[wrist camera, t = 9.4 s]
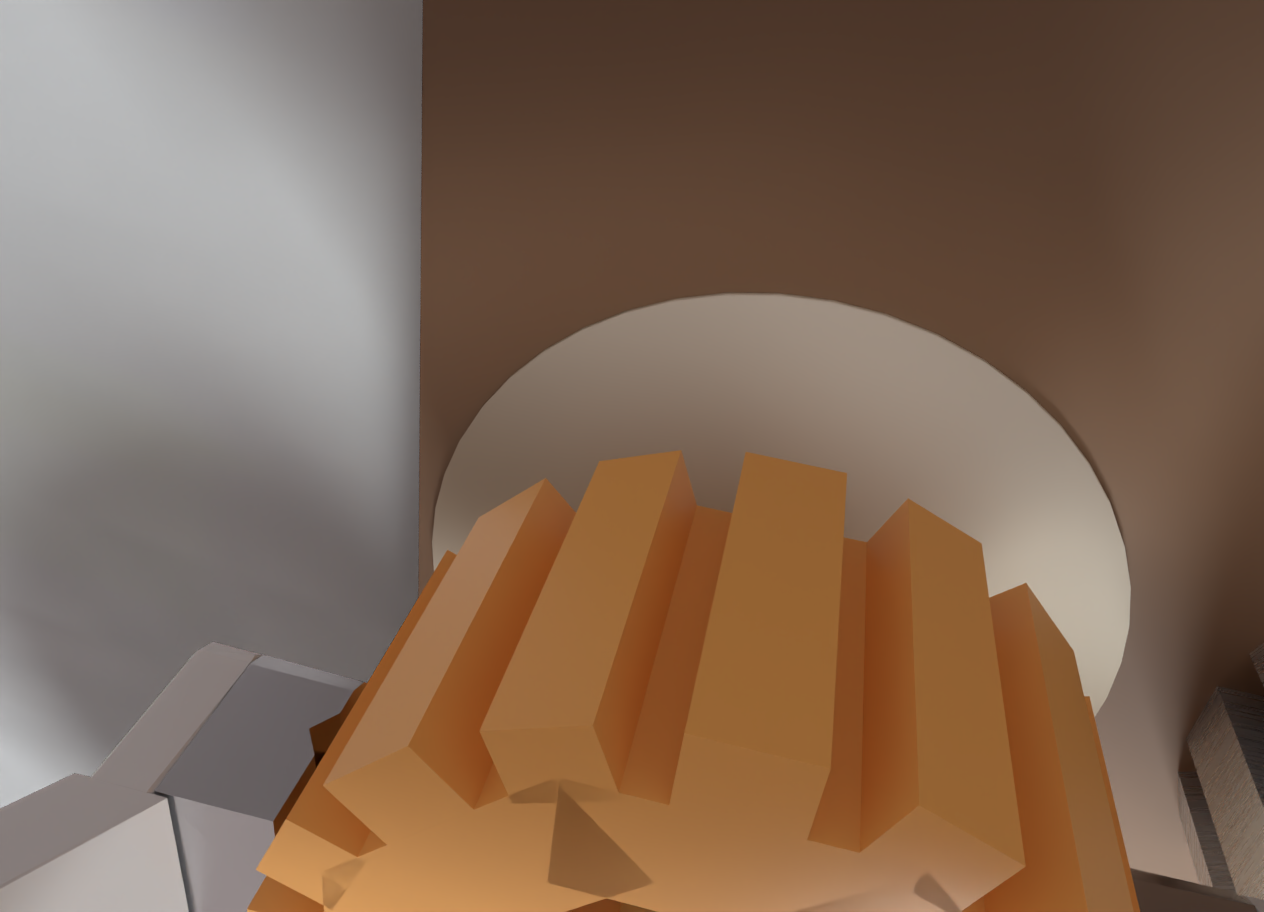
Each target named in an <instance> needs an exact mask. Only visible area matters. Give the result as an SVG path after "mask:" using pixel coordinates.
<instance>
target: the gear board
mask: <svg viewBox="0 0 1264 912" xmlns="http://www.w3.org/2000/svg"><path fill="white" fill-rule="evenodd" d="M679 450H681V451H682V454H683V458H684V461H685V465H686V469H687V472H688V476H689V479H690V483H691V486H692V490H693V493H694V497H695V500H696V504H697V505H698V506H702V507H707V508H712V509H716V510H721V511H725V512H730V513H732V512H733V508H734V503H735V499H736V494H737V489H738V485H739V480H740V476H741V471H742V466H743V462H744V457H745V453H746V452H750V453H754V454H759V455H764V456H769V457H773V458H778V459H783V460H788V461H792V462H797V463H802V464H807V465H811V466H816V467H821V468H826V469H830V470H835V471H840V472H845V473H847V484H846V502H845V520H844V537H845V538H850V539H854V540H859V541H863V542H868V541H869V539H870V538H871V537H872V536H873V535H874V534H875V533H876V532H877V531H878V530H879V529H880V528H881V527H882V526H883V524H884V523H885V522H886V521H887V520H888V519H889V518H890V517H891V516H892V515H893V514H894V513H895V512H896V511H897V510H898V508H899V507H900V506H901V505H902V504H903V503H904V502H905V501H906V500H907V499H908V498H909V499H910V500H912V501H913V502H915V503H917V504H918V505H920V506H922V507H923V508H925V509H926V510H928V511H930V512H931V513H933V514H935V515H936V516H938V517H939V518H941V519H943V520H944V521H946V522H948V523H949V524H951V525H952V526H954V527H956V528H957V529H959V530H961V531H962V532H964V533H966V534H967V535H969V536H970V537H972V538H974V539H975V540H977V541H979V542H980V543H982V549H983V557H984V564H985V571H986V579H987V586H988V593H989V598H990V597H992V596H995V595H997V594H1000V593H1002V592H1004V591H1007V590H1009V589H1012V588H1014V587H1017V586H1019V585H1022V584H1024V583H1027V585H1028V586H1029V587H1030V589H1031V590H1032V592H1033V593H1034V595H1035V596H1036V597H1037V599H1038V600H1039V602H1040V603H1041V605H1042V606H1043V607H1044V609H1045V610H1046V612H1047V613H1048V615H1049V616H1050V618H1051V619H1052V620H1053V622H1054V623H1055V625H1056V626H1057V628H1058V629H1059V630H1060V632H1061V633H1062V635H1063V636H1064V638H1065V639H1066V640H1067V642H1068V643H1069V645H1070V646H1071V648H1072V649H1073V650H1074V654H1075V658H1076V662H1077V667H1078V671H1079V675H1080V680H1081V684H1082V689H1083V693H1084V696H1090V701H1091V705H1092V709H1093V713H1094V718H1095V722H1096V726H1097V730H1098V735H1099V739H1100V743H1101V747H1102V751H1103V756H1104V760H1105V764H1106V768H1107V773H1108V777H1109V781H1110V785H1111V790H1112V794H1113V798H1114V802H1115V807H1116V811H1117V815H1118V819H1119V824H1120V828H1121V832H1122V836H1123V840H1124V845H1125V849H1126V853H1127V857H1128V862H1129V866H1130V868H1133V869H1137V870H1141V871H1146V872H1150V873H1154V874H1159V875H1163V876H1167V877H1172V878H1176V879H1180V880H1184V881H1189V882H1193V883H1197V884H1199V881H1198V877H1197V874H1196V871H1195V867H1194V864H1193V860H1192V857H1191V854H1190V850H1189V847H1188V843H1187V840H1186V837H1185V833H1184V830H1183V826H1182V823H1181V820H1180V816H1179V792H1178V772H1191V771H1196V768H1195V764H1194V761H1193V758H1192V755H1191V752H1190V749H1189V746H1188V743H1187V740H1186V738H1187V736H1188V734H1189V733H1190V731H1191V729H1192V728H1193V726H1194V724H1195V723H1196V721H1197V719H1198V718H1199V716H1200V714H1201V713H1202V711H1203V709H1204V708H1205V706H1206V704H1207V702H1208V701H1209V699H1210V697H1211V696H1212V694H1213V692H1214V691H1215V689H1216V687H1217V686H1219V687H1223V688H1228V689H1232V690H1236V691H1241V692H1245V693H1250V694H1254V695H1259V696H1263V697H1264V686H1263V684H1262V682H1261V679H1260V677H1259V675H1258V672H1257V670H1256V668H1255V666H1254V663H1253V661H1252V659H1251V656H1250V654H1249V653H1251V652H1252V651H1253V650H1255V649H1256V648H1258V647H1259V646H1260V645H1262V644H1263V643H1264V0H423V54H422V187H421V321H420V455H419V588H418V598H419V596H420V594H421V593H422V591H423V589H424V588H425V586H426V584H427V583H428V581H429V579H430V578H431V576H432V574H433V573H434V571H435V569H436V568H437V566H438V564H439V563H440V561H441V559H442V558H443V556H444V554H445V553H446V551H447V550H449V551H451V552H453V553H454V554H456V555H457V554H458V552H459V550H460V549H461V547H462V545H463V544H464V542H465V540H466V538H467V537H468V535H469V533H470V532H471V530H472V528H473V526H474V525H475V523H476V521H477V520H478V518H479V517H480V516H482V515H484V514H485V513H487V512H489V511H491V510H492V509H494V508H496V507H497V506H499V505H501V504H502V503H504V502H506V501H508V500H509V499H511V498H513V497H514V496H516V495H518V494H519V493H521V492H523V491H524V490H526V489H528V488H530V487H531V486H533V485H535V484H536V483H538V482H540V481H541V480H543V479H545V478H546V479H547V480H548V481H549V482H550V483H551V484H552V486H553V487H554V488H555V489H556V490H557V491H558V493H559V494H560V495H561V496H562V497H563V498H564V499H565V501H566V502H567V503H568V504H569V505H570V506H571V508H572V509H573V510H574V511H575V512H577V510H578V508H579V506H580V503H581V501H582V499H583V497H584V494H585V492H586V490H587V488H588V485H589V483H590V481H591V479H592V476H593V474H594V472H595V470H596V467H597V465H598V463H599V461H604V460H612V459H619V458H627V457H634V456H642V455H649V454H656V453H664V452H671V451H679ZM619 912H657V911H653V910H649V909H645V908H641V907H638V906H634V905H630V904H626V903H621V907H620V911H619Z"/></svg>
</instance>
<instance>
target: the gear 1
mask: <svg viewBox="0 0 1264 912" xmlns="http://www.w3.org/2000/svg"><path fill="white" fill-rule="evenodd" d="M846 484H847V473H845V472H840V471H835V470H830V469H826V468H821V467H816V466H811V465H807V464H802V463H797V462H792V461H788V460H783V459H778V458H773V457H769V456H764V455H759V454H754V453H750V452H746V453H745V457H744V462H743V466H742V471H741V476H740V480H739V485H738V489H737V494H736V499H735V503H734V508H733V512H732V513H730V512H725V511H721V510H716V509H712V508H707V507H702V506H698V505H697V504H696V500H695V497H694V493H693V490H692V486H691V483H690V479H689V476H688V472H687V469H686V465H685V461H684V458H683V454H682V451H681V450H679V451H671V452H664V453H656V454H649V455H642V456H634V457H627V458H619V459H612V460H604V461H599V463H598V465H597V467H596V470H595V472H594V474H593V476H592V479H591V481H590V483H589V485H588V488H587V490H586V492H585V494H584V497H583V499H582V501H581V503H580V506H579V508H578V510H577V512H575V511H574V510H573V509H572V508H571V506H570V505H569V504H568V503H567V502H566V501H565V499H564V498H563V497H562V496H561V495H560V494H559V493H558V491H557V490H556V489H555V488H554V487H553V486H552V484H551V483H550V482H549V481H548V480H547V479H546V478H545V479H543V480H541V481H540V482H538V483H536V484H535V485H533V486H531V487H530V488H528V489H526V490H524V491H523V492H521V493H519V494H518V495H516V496H514V497H513V498H511V499H509V500H508V501H506V502H504V503H502V504H501V505H499V506H497V507H496V508H494V509H492V510H491V511H489V512H487V513H485V514H484V515H482V516H480V517H479V518H478V520H477V521H476V523H475V525H474V526H473V528H472V530H471V532H470V533H469V535H468V537H467V538H466V540H465V542H464V544H463V545H462V547H461V549H460V550H459V552H458V554H457V555H456V554H454V553H453V552H451V551H449V550H447V551H446V553H445V554H444V556H443V558H442V559H441V561H440V563H439V564H438V566H437V568H436V569H435V571H434V573H433V574H432V576H431V578H430V579H429V581H428V583H427V584H426V586H425V588H424V589H423V591H422V593H421V594H420V596H419V598H418V599H417V601H416V603H415V604H414V606H413V608H412V609H411V611H410V613H409V614H408V616H407V618H406V619H405V621H404V623H403V625H402V626H401V628H400V630H399V631H398V633H397V635H396V636H395V638H394V640H393V641H392V643H391V645H390V646H389V648H388V650H387V651H386V653H385V655H384V656H383V658H382V660H381V661H380V663H379V665H378V666H377V668H376V670H375V671H374V673H373V675H372V676H371V678H370V680H369V681H368V683H367V685H366V686H365V688H364V690H363V691H362V693H361V695H360V696H359V698H358V700H357V701H356V703H355V705H354V706H353V708H352V710H351V711H350V713H349V715H348V716H347V718H346V720H345V721H344V723H343V725H342V726H341V728H340V730H339V731H338V733H337V735H336V736H335V738H334V740H333V741H332V743H331V745H330V746H329V748H328V750H327V751H326V753H325V755H324V756H323V758H322V760H321V761H320V763H319V765H318V766H317V768H316V770H315V771H314V773H313V775H312V776H311V778H310V780H309V781H308V783H307V785H306V786H305V788H304V790H303V791H302V793H301V795H300V796H299V798H298V800H297V801H296V803H295V805H294V806H293V808H292V810H291V811H290V813H289V815H288V816H287V818H286V820H285V821H284V823H283V825H282V826H281V828H280V830H279V831H278V833H277V835H276V836H275V838H274V840H273V842H272V843H271V845H270V847H269V848H268V850H267V852H266V853H265V855H264V857H263V858H262V860H261V862H260V863H259V865H258V867H257V868H256V870H257V871H259V872H261V873H263V874H265V875H266V877H265V879H264V881H263V882H262V884H261V886H260V887H259V889H258V891H257V893H256V894H255V896H254V898H253V899H252V901H251V903H250V904H249V906H248V908H247V912H619V911H620V907H621V903H626V904H630V905H634V906H638V907H641V908H645V909H649V910H653V911H657V912H1140V908H1139V904H1138V900H1137V896H1136V891H1135V887H1134V883H1133V879H1132V874H1131V870H1130V866H1129V862H1128V857H1127V853H1126V849H1125V845H1124V840H1123V836H1122V832H1121V828H1120V824H1119V819H1118V815H1117V811H1116V807H1115V802H1114V798H1113V794H1112V790H1111V785H1110V781H1109V777H1108V773H1107V768H1106V764H1105V760H1104V756H1103V751H1102V747H1101V743H1100V739H1099V735H1098V730H1097V726H1096V722H1095V718H1094V713H1093V709H1092V705H1091V701H1090V696H1084V693H1083V689H1082V684H1081V680H1080V675H1079V671H1078V667H1077V662H1076V658H1075V654H1074V650H1073V649H1072V648H1071V646H1070V645H1069V643H1068V642H1067V640H1066V639H1065V638H1064V636H1063V635H1062V633H1061V632H1060V630H1059V629H1058V628H1057V626H1056V625H1055V623H1054V622H1053V620H1052V619H1051V618H1050V616H1049V615H1048V613H1047V612H1046V610H1045V609H1044V607H1043V606H1042V605H1041V603H1040V602H1039V600H1038V599H1037V597H1036V596H1035V595H1034V593H1033V592H1032V590H1031V589H1030V587H1029V586H1028V585H1027V583H1024V584H1022V585H1019V586H1017V587H1014V588H1012V589H1009V590H1007V591H1004V592H1002V593H1000V594H997V595H995V596H992V597H990V598H989V593H988V586H987V579H986V571H985V564H984V557H983V549H982V543H980V542H979V541H977V540H975V539H974V538H972V537H970V536H969V535H967V534H966V533H964V532H962V531H961V530H959V529H957V528H956V527H954V526H952V525H951V524H949V523H948V522H946V521H944V520H943V519H941V518H939V517H938V516H936V515H935V514H933V513H931V512H930V511H928V510H926V509H925V508H923V507H922V506H920V505H918V504H917V503H915V502H913V501H912V500H910V499H909V498H908V499H907V500H906V501H905V502H904V503H903V504H902V505H901V506H900V507H899V508H898V510H897V511H896V512H895V513H894V514H893V515H892V516H891V517H890V518H889V519H888V520H887V521H886V522H885V523H884V524H883V526H882V527H881V528H880V529H879V530H878V531H877V532H876V533H875V534H874V535H873V536H872V537H871V538H870V539H869V541H868V542H863V541H859V540H854V539H850V538H845V537H844V520H845V502H846Z"/></svg>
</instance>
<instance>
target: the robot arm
mask: <svg viewBox="0 0 1264 912" xmlns="http://www.w3.org/2000/svg"><path fill="white" fill-rule="evenodd" d="M366 685H367V683H365V682H362V681H359V680H355V679H351V678H348V677H344V676H340V675H337V674H333V673H330V672H326V671H322V670H319V669H315V668H311V667H308V666H304V665H300V664H297V663H293V662H289V661H286V660H282V659H278V658H275V657H271V656H267V655H262V654H258V653H254V652H250V651H247V650H243V649H239V648H235V647H231V646H228V645H224V644H220V643H216V642H211V643H210V644H208V645H206V646H204V647H203V648H201V649H199V650H198V651H196V652H195V653H194V654H193V655H192V656H191V657H190V659H189V660H188V661H187V662H186V663H185V665H184V666H183V667H182V668H181V669H180V671H179V672H178V673H177V674H176V675H175V677H174V678H173V679H172V680H171V681H170V683H169V684H168V685H167V686H166V687H165V689H164V690H163V691H162V692H161V693H160V695H159V696H158V697H157V698H156V699H155V700H154V702H153V703H152V704H151V705H150V706H149V708H148V709H147V710H146V711H145V712H144V714H143V715H142V716H141V717H140V718H139V720H138V721H137V722H136V723H135V724H134V726H133V727H132V728H131V729H130V730H129V732H128V733H127V734H126V735H125V736H124V738H123V739H122V740H121V741H120V742H119V744H118V745H117V746H116V747H115V748H114V749H113V751H112V752H111V753H110V754H109V755H108V757H107V758H106V759H105V760H104V761H103V763H102V764H101V765H100V766H99V767H98V769H97V770H96V771H95V772H94V773H93V775H92V776H91V777H89V776H85V775H81V774H76V773H74V774H72V775H70V776H68V777H65V778H63V779H61V780H59V781H57V782H55V783H53V784H51V785H49V786H47V787H44V788H42V789H40V790H38V791H36V792H34V793H32V794H30V795H28V796H26V797H23V798H21V799H19V800H17V801H15V802H13V803H11V804H9V805H7V806H5V807H2V808H0V912H247V908H248V906H249V904H250V903H251V901H252V899H253V898H254V896H255V894H256V893H257V891H258V889H259V887H260V886H261V884H262V882H263V881H264V879H265V877H266V875H265V874H263V873H261V872H259V871H257V870H256V868H257V867H258V865H259V863H260V862H261V860H262V858H263V857H264V855H265V853H266V852H267V850H268V848H269V847H270V845H271V843H272V842H273V840H274V838H275V836H276V835H277V833H278V831H279V830H280V828H281V826H282V825H283V823H284V821H285V820H286V818H287V816H288V815H289V813H290V811H291V810H292V808H293V806H294V805H295V803H296V801H297V800H298V798H299V796H300V795H301V793H302V791H303V790H304V788H305V786H306V785H307V783H308V781H309V780H310V778H311V776H312V775H313V773H314V771H315V770H316V768H317V766H318V765H319V763H320V761H321V760H322V758H323V756H324V755H325V753H326V751H327V750H328V748H329V746H330V745H331V743H332V741H333V740H334V738H335V736H336V735H337V733H338V731H339V730H340V728H341V726H342V725H343V723H344V721H345V720H346V718H347V716H348V715H349V713H350V711H351V710H352V708H353V706H354V705H355V703H356V701H357V700H358V698H359V696H360V695H361V693H362V691H363V690H364V688H365V686H366ZM1130 870H1131V874H1132V879H1133V883H1134V887H1135V891H1136V896H1137V900H1138V904H1139V908H1140V912H1264V900H1261V899H1257V898H1253V897H1249V896H1244V895H1238V894H1237V893H1235V892H1232V891H1227V890H1223V889H1219V888H1214V887H1210V886H1206V885H1202V884H1197V883H1193V882H1189V881H1184V880H1180V879H1176V878H1172V877H1167V876H1163V875H1159V874H1154V873H1150V872H1146V871H1141V870H1137V869H1133V868H1130Z"/></svg>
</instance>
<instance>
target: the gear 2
mask: <svg viewBox="0 0 1264 912" xmlns="http://www.w3.org/2000/svg"><path fill="white" fill-rule="evenodd" d="M1249 654H1250V656H1251V659H1252V661H1253V663H1254V666H1255V668H1256V670H1257V672H1258V675H1259V677H1260V679H1261V682H1262V684H1263V686H1264V643H1263V644H1262V645H1260V646H1259V647H1258V648H1256V649H1255V650H1253V651H1252V652H1251V653H1249ZM1186 740H1187V743H1188V746H1189V749H1190V752H1191V755H1192V758H1193V761H1194V764H1195V768H1196V771H1191V772H1178V792H1179V816H1180V820H1181V823H1182V826H1183V830H1184V833H1185V837H1186V840H1187V843H1188V847H1189V850H1190V854H1191V857H1192V860H1193V864H1194V867H1195V871H1196V874H1197V877H1198V881H1199V884H1202V885H1206V886H1210V887H1214V888H1219V889H1223V890H1227V891H1232V892H1235V893H1237V894H1238V895H1244V896H1249V897H1253V898H1257V899H1261V900H1264V697H1263V696H1259V695H1254V694H1250V693H1245V692H1241V691H1236V690H1232V689H1228V688H1223V687H1219V686H1217V687H1216V689H1215V691H1214V692H1213V694H1212V696H1211V697H1210V699H1209V701H1208V702H1207V704H1206V706H1205V708H1204V709H1203V711H1202V713H1201V714H1200V716H1199V718H1198V719H1197V721H1196V723H1195V724H1194V726H1193V728H1192V729H1191V731H1190V733H1189V734H1188V736H1187V738H1186Z"/></svg>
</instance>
